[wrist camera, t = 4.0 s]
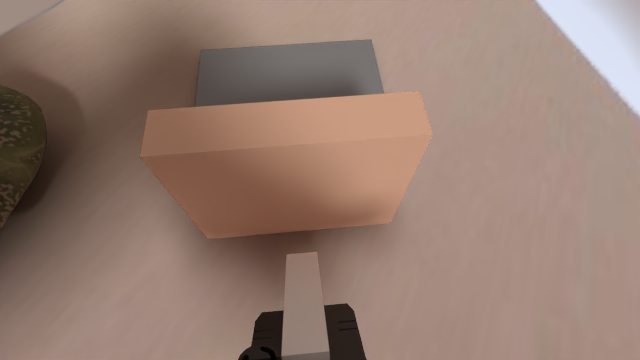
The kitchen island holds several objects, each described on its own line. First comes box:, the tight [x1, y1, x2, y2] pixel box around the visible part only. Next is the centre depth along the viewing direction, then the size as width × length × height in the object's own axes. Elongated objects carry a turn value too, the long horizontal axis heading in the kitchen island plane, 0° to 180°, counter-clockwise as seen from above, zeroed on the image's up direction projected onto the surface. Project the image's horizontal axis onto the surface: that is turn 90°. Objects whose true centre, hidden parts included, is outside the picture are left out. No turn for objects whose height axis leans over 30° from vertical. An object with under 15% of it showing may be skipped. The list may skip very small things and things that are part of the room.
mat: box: [195, 40, 384, 107], centre depth 28 cm, size 14×15×1 cm
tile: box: [140, 91, 433, 239], centre depth 19 cm, size 2×12×10 cm, turn 96°
